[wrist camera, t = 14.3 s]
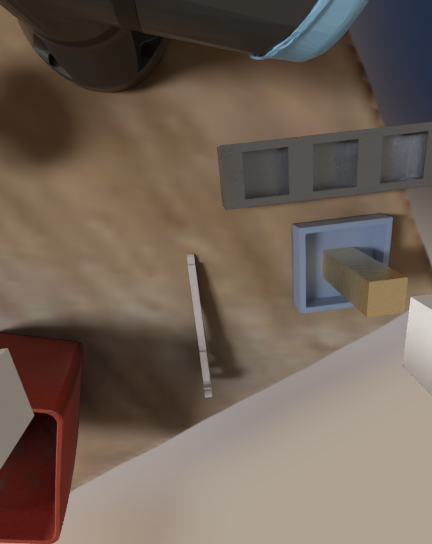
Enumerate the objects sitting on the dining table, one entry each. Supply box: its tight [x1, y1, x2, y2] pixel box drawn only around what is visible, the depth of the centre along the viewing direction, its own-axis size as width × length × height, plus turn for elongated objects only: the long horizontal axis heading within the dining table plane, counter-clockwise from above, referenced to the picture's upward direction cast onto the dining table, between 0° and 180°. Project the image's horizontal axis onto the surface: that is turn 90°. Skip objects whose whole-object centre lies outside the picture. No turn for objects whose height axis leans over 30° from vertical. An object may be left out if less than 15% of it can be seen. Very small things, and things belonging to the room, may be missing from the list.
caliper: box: [187, 254, 212, 398], centre depth 43 cm, size 20×1×6 cm, turn 6°
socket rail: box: [217, 122, 432, 210], centre depth 37 cm, size 26×7×4 cm, turn 96°
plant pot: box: [0, 333, 83, 544], centre depth 39 cm, size 19×19×17 cm
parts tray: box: [292, 213, 393, 314], centre depth 42 cm, size 12×12×3 cm
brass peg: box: [322, 247, 408, 317], centre depth 37 cm, size 4×4×12 cm
